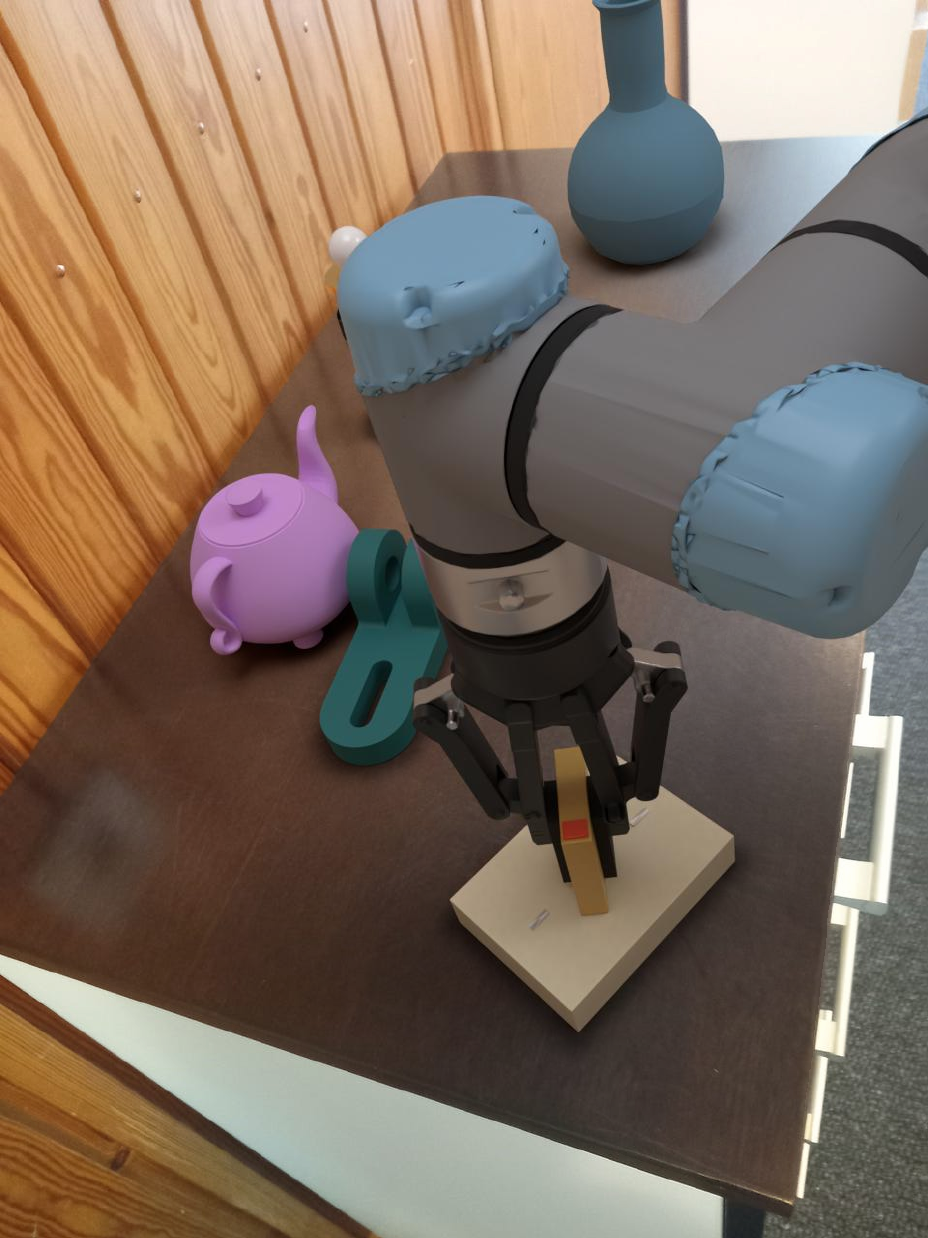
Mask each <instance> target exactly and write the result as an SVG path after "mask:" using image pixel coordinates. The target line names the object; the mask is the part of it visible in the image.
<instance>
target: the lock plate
mask: <svg viewBox="0 0 928 1238" xmlns="http://www.w3.org/2000/svg"><path fill="white" fill-rule="evenodd" d="M616 756H617V759H618V762H619V765H622V764H625V763H627V761H625V760H624V759H623V758H621V757H620V756H619V755H617V754H616ZM588 774H589V771H588ZM589 776H590V774H589ZM626 805H627V811H628V819H629V826H630V830H629V832H628V834H626V835H617V836H613V845H614V853H615V861H616V869H617V877H613V878H605V882H606V892H607V901H608V910H609V912H608V913H600V914H591V915H581V914H580V910H579V907H578V903H577V899H576V896H575V892H574V889H573V885H572V882H568V883H564V882H563V879H562V875H561V872H560V868H559V865H558V861H557V858H556V854H555V851H554V847H553V844H546V845H536V844H535V843H534V842H533V841H532V838H531V835H530V831H529V828H528V825H527V824H526V825H525V826H524V827H523V828H522V829H521V830H520V831H519V832H518V833H516V834H515V836H514V837H512V838H511V840H510V841H509V842H507V843H506V844H505V845H504V846H503V847H502V848H501V849H500V850H499V851H498V852H497V853H496V854H494V856H493V857H492V858H491V859H490V860H489V861H488V862H487V863H486V864H485V865H483V867H482V868H481V869H479V871H477V872H476V874H475V875H473V876H472V877H471V878H470V879H469V880H468V881H467V882H466V883H465V884H464V885H463V886H462V887H461V888H460V889H459V890H458V891H457V892H455V894H454V895H453V896H452V897H451V898H449V901H450V904H451V906H452V908H453V910H454V912H455V915H456V917H457V919H458V922H459V923H460V924H461V925H462V926H463V927H464V928H465V929H466V930H467V931H468V932H470V933H471V934H472V935H473V936H474V937H475V939H477V940H478V941H479V942H480V943H481V944H482V945H483V946H484V947H486V948H487V950H489V951H490V952H491V953H492V954H493V955H494V956H495V957H496V958H497V959H498V960H499V961H501V963H503V964H504V965H505V966H506V967H507V968H508V969H509V970H510V971H511V972H512V973H514V974H515V975H516V977H518V978H519V979H520V980H521V981H522V982H523V983H524V984H525V985H526V986H527V987H528V988H530V989H531V991H533V993H535V994H536V995H537V996H539V998H540V999H541V1000H542V1001H543V1002H545V1003H546V1004H547V1005H548V1006H549V1007H550V1008H551V1009H552V1010H553V1011H555V1012H556V1014H558V1015H559V1016H560V1017H561V1018H562V1019H563V1020H564V1021H565V1022H566V1023H567V1024H569V1025H570V1026H571V1027H572V1028H573V1029H574V1030H575V1031H576V1032H577V1033H580V1032H581V1031H582V1030H583V1029H584V1028H585V1026H586V1025H587V1024H588V1023H589V1022H590V1021H591V1020H592V1019H593V1018H594V1016H595V1015H596V1014H598V1012H599V1011H600V1010H601V1009H602V1008H603V1006H604V1005H605V1004H606V1003H607V1002H608V1001H609V1000H610V999H611V998H612V997H613V996H614V995H615V993H616V992H617V991H618V990H619V989H620V988H621V987H622V986H623V985H624V983H626V982H627V980H628V979H629V978H630V977H631V976H632V975H633V974H634V973H635V972H636V970H638V968H639V967H640V966H641V965H642V964H643V963H644V962H645V961H646V960H647V958H648V957H649V956H650V955H651V954H653V952H654V951H655V949H657V947H658V946H659V945H660V944H661V943H662V942H663V941H664V940H665V939H666V938H667V936H668V935H669V934H670V933H672V931H673V930H674V929H675V928H676V927H677V926H678V925H679V923H680V922H681V921H682V920H683V919H684V918H685V917H686V915H688V913H689V912H690V911H691V910H692V909H693V908H694V907H695V906H696V905H697V904H698V902H699V901H700V900H701V899H702V898H703V897H704V896H705V895H706V894H707V892H709V890H710V889H711V888H712V887H713V886H714V885H715V884H716V882H718V880H720V878H721V877H723V875H724V874H725V873H726V872H727V871H728V870H729V868H731V866H732V865H733V864H734V863H735V862H736V857H735V856H736V855H735V836H734V834H732V833H731V832H729V831H728V830H726V829H725V828H723V827H722V826H720V825H719V824H717V823H716V822H714V821H713V820H712V819H710V818H709V817H707V816H706V815H704V814H703V813H701V812H700V811H698V810H697V809H695V808H694V807H693V806H691V805H690V804H688V803H687V802H686V801H684V800H682V799H681V798H680V797H678V796H677V795H675V794H674V793H672V792H671V791H670V790H668V789H666V788H665V787H663V786H662V785H661V784H660V789H659V795H658V797H657V798H656V799H654V800H651V801H640V800H638V799H637V798H636V797H635V798H632V799H630V800H629V801H628V802H627V803H626Z"/></svg>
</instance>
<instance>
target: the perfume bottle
mask: <svg viewBox="0 0 928 1238" xmlns="http://www.w3.org/2000/svg"><path fill="white" fill-rule="evenodd" d="M366 237H368V236H367V234H366V233H365V232H364V231H363V230H362V229H360V228H359V227H356V226H353V225H344V226H340V227H339V228H337V229H335V230H334V231H333V232H332V234H331V235H330V237H329V240H328V242H327V243H328V244H327V253H328V256H329V258H330V260H331V262H332V263H333V264H332V266H330V267H329V268H328V269H327V270H326V272H325V273H324V277H323V279H324V283H325V286H326V288H327V290H329V292H331V293H334V294H337V284H338V279H339V275H340V272H341V270H342V267H343V265H344V264H345V262H346V260H347V258H348V256H349V255H350V254H351V253H352V251H353V250H354V249H355V248H356V246H357V245H358V244H359V243H360V242H361V241H362V240H363V239H365V238H366ZM336 319H337V321H338V324H339V328H340V330H341V333H342V336H343V338H344V340H345V343H346V346H347V347H349V345H348V341H347V337H346V334H345V330H344V326H343V323H342V319H341V315H340V312H339V308H338V307H337V311H336Z"/></svg>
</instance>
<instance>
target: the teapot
mask: <svg viewBox="0 0 928 1238" xmlns="http://www.w3.org/2000/svg"><path fill="white" fill-rule="evenodd" d="M316 420H317V408H316V407H315V405H312V404H310V405H308V406H307V407H306V408H304V410H303V412H302V413H301V414H300V417H299V419H298V422H297V426H296V452H297V461H298V478H295V477H293V476H289V475H288V474H287V475H286V474H282V473H275V472H274V473H272V472H271V473H270V472H269V473H268V472H267V473H257V474H252V475H249V476H246V477H243V478H241V479H240V478H239V479H237V480H236V481H234V482H232V483H230V484H228V485H226V486H225V487H223V488H222V489H220V490H219V491H218V492H217V493H216V494H214V496H212V497H211V499H210V500H209V501H208V502H207V503H206V504H205V506H204V507H203V509H202V511H201V513H200V515H199V518H198V520H197V523H196V527H195V530H194V535H193V540H192V544H191V551H190V559H189V560H190V561H189V571H190V572H189V573H190V582H191V597H192V600H193V602H194V604H195V606H196V608H197V609H198V610H199V612H200V613H201V615H202V617H203V619H204V620H205V621H206V622H207V624H208V625H209V626H210V627H212V628H213V629H214V630H213V631H212V633H211V635H210V639H209V643H210V647H211V649H212V650H213V651H214V652H215V653H216V654H217V655H220V656H229V655H231V654H232V655H233V654H234V653H235V652H237V651H238V650H239V649H240V648H241V646H242V645H243V644H242V643H243V642H246V643H252V644H264V645H265V644H266V645H267V644H269V645H270V644H271V645H273V644H282V643H287V642H292V641H293V645H294V646H295V647H297V648H299V649H302V650H304V649H305V650H306V649H310V648H313V647H315V646H316V645H318V644H319V643H320V642H321V641H322V639H323V637H324V630H323V628H325V626H327V625H329V624H330V623H331V622H332V621H333V620H334V619H335V618H337V617H338V616H339V615H340V614H341V613H342V612H343V611H344V610H345V608H346V607H347V606H348V604H349V603H351V602H350V599H349V596H348V590H347V581H346V572H347V561H348V556H349V552H350V548H351V545H352V543H353V541H354V539H355V537H356V536H357V534H358V533H359V532H360V531H359V529H358V527H357V526H356V524H355V523H354V521H353V520H352V519H351V517H350V516H349V515H348V514H347V513H346V512H345V510H343V508H342V507H341V506H340V505H339V492H338V491H339V490H338V484H337V480H336V477H335V474H334V472H333V470H332V468H331V467H330V464H329V463H328V461H327V459H326V457H325V455H324V453H323V452H322V449H321V446H320V445H319V442H318V438H317V433H316V432H317V431H316Z"/></svg>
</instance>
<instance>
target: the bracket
mask: <svg viewBox="0 0 928 1238" xmlns="http://www.w3.org/2000/svg"><path fill="white" fill-rule="evenodd" d="M346 581H347V590H348V596H349V599H350V602H349V603H350V605H351V607H352V609H353V611H354V614H355V616H356V619H357V621H358V622H357V623H358V624H357V628H356V629H355V631H354V634H353V636H352V639H351V641H350V643H349V645H348V647H347V649H346V652H345V654H344V656H343V658H342V661H341V663H340V664H339V667H338V668H337V671H336V674H335V675H334V678H333V681H332V683H331V684H330V687H329V689H328V690H327V691H328V692H327V693H326V696H325V697H324V700H323V702H322V705H321V707H320V711H319V725H320V728H321V731H322V732H323V734H324V737H325V738H326V740H327V742H328V744H329V746H330V748H331V750H332V751H333V753H334V754H335V755H336V757H338V758H339V759H341V760H342V761H343V762H345V763H347V764H350V765H354V766H361V767H365V766H373V765H379V764H382V763H384V762H387V761H389V760H391V759H393V758H394V757H396V756H399V755H400V753H402V752H403V751H404V750H405V749H406V748H407V747H408V746H409V745H410V743H411V742H412V740H413V739H414V737H415V735H416V733H417V731H418V730H417V729H415V728H414V727H413V723H412V722H413V692H414V682H415V680H417V679H418V678H420V677H432V678H434V679H436V680H437V677H438V675H439V672H440V669H441V667H442V664H443V662H444V658H445V656H446V653H447V650H448V649H449V646H448V644H447V641H446V638H445V635H444V632H443V629H442V626H441V623H440V620H439V617H438V613H437V608H436V604H435V601H434V599H433V597H432V594H431V592H430V589H429V586H428V584H427V581H426V578H425V575H424V572H423V569H422V566H421V563H420V560H419V557H418V554H417V552H416V549H415V546H414V543H413V540H412V537H411V538H410V539H409V540H408V543H407V542H406V539H405V537H404V536H403V534H402V533H401V532H400V531H399V530H397V529H391V528H362V530H360V531H359V533H358V534H357V536H356V537H355V539H354V541H353V543H352V545H351V548H350V552H349V556H348V561H347V572H346ZM386 681H387V682H386ZM384 682H386V684H385V686H384V689H383V691H382V693H381V696H380V698H379V701H378V703H377V706H376V708H375V710H374V712H373V715H372V717H371V720H370V722H369V723H367V724H366V725H365V723H366V720H367V718H368V716H369V713H370V710H371V708H372V707H373V703H374V701H375V699H376V696H377V694H378V692H379V689H380V686H381V685H382V684H384Z"/></svg>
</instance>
